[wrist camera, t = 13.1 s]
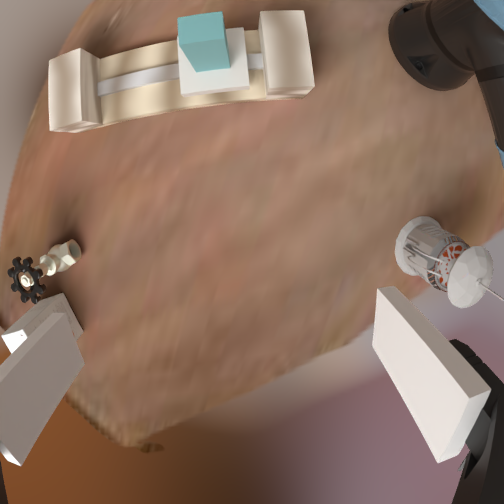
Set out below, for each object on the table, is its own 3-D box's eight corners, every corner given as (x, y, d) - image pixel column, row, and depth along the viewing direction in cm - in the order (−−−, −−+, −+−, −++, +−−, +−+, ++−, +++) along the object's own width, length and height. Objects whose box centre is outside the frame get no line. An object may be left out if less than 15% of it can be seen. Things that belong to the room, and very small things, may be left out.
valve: (90, 265, 44) (50, 296, 33) (62, 278, 45) (22, 310, 34) (71, 227, 43) (27, 249, 31) (45, 243, 43) (0, 267, 32)
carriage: (243, 35, 33) (242, -12, 21) (249, 90, 35) (250, 60, 23) (181, 43, 33) (155, 1, 21) (185, 98, 35) (158, 74, 23)
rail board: (293, 31, 35) (303, 7, 27) (302, 98, 38) (314, 86, 30) (77, 69, 35) (49, 57, 28) (79, 132, 38) (49, 130, 31)
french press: (433, 280, 46) (529, 360, 22) (377, 268, 45) (470, 363, 21) (451, 224, 43) (565, 279, 19) (395, 206, 42) (515, 260, 19)
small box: (40, 299, 46) (-1, 334, 34) (63, 291, 46) (22, 328, 33) (60, 337, 48) (26, 378, 36) (84, 332, 48) (50, 376, 36)
